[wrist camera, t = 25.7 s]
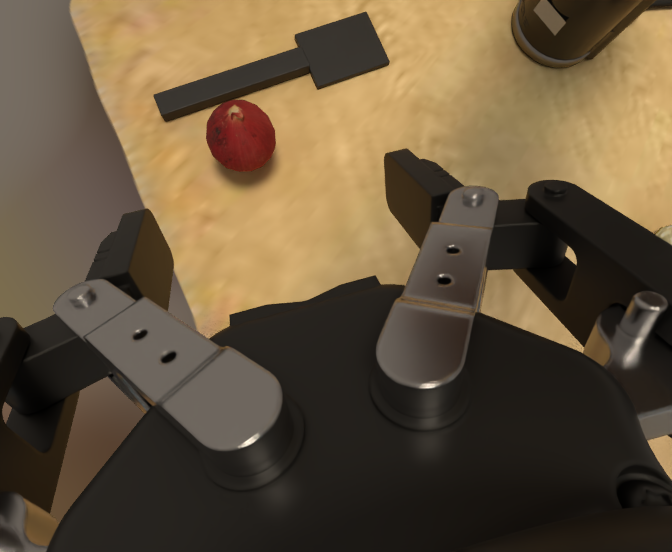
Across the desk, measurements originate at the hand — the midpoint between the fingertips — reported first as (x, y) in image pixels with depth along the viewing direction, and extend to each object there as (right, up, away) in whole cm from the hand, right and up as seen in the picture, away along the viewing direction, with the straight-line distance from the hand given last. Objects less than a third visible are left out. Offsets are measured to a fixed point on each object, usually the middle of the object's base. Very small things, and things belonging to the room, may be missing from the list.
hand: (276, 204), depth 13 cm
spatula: (-5, +17, +25) cm, 31 cm away
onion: (-7, +9, +24) cm, 27 cm away
